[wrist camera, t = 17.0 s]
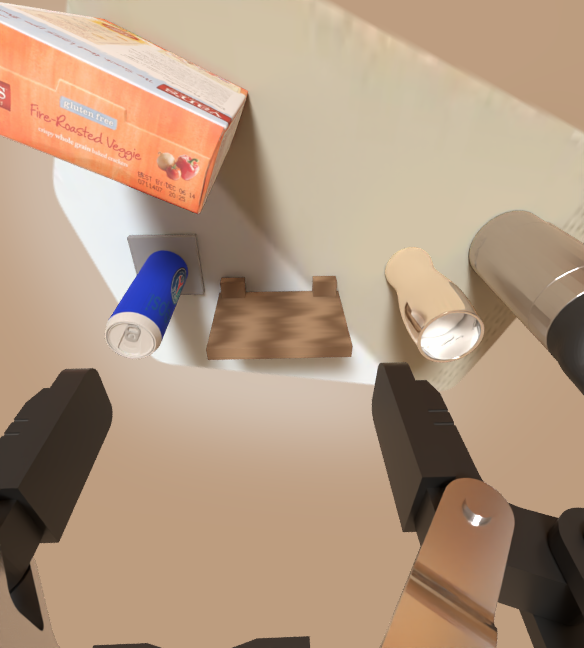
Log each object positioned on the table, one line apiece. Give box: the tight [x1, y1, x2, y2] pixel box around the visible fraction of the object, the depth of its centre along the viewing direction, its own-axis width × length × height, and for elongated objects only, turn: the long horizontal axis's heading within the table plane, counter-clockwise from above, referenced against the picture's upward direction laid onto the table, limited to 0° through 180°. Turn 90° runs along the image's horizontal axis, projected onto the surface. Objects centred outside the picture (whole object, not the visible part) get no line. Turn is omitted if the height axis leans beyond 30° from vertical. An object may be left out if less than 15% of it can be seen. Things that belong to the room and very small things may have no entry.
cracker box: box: [0, 2, 248, 214], centre depth 29 cm, size 14×6×21 cm, turn 66°
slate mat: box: [127, 235, 204, 295], centre depth 48 cm, size 8×8×1 cm
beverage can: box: [105, 250, 188, 359], centre depth 41 cm, size 5×5×15 cm
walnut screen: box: [206, 276, 353, 360], centre depth 47 cm, size 16×6×12 cm, turn 90°
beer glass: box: [385, 247, 484, 362], centre depth 43 cm, size 7×7×15 cm
